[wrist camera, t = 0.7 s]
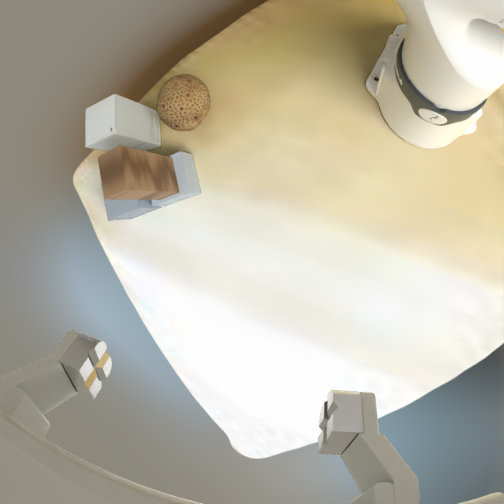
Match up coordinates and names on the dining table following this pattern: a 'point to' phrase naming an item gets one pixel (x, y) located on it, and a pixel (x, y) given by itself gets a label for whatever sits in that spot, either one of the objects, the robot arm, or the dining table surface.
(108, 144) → the supplement box
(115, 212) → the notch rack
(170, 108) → the natural sponge
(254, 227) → the dining table surface
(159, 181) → the frame block
